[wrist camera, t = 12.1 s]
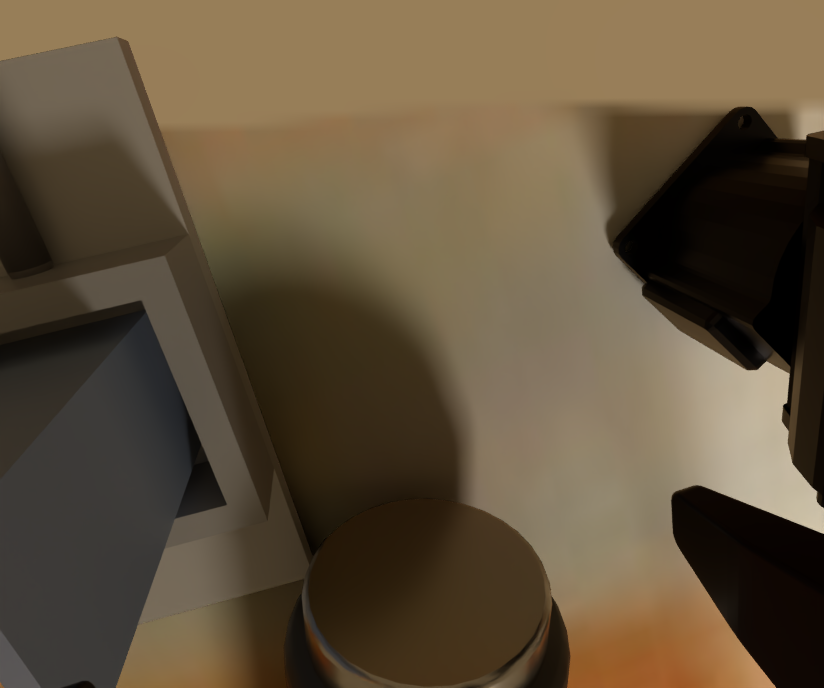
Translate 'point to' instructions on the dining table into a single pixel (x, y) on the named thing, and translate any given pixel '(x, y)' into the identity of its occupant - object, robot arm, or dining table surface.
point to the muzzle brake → (426, 605)
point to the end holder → (139, 302)
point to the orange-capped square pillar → (85, 495)
